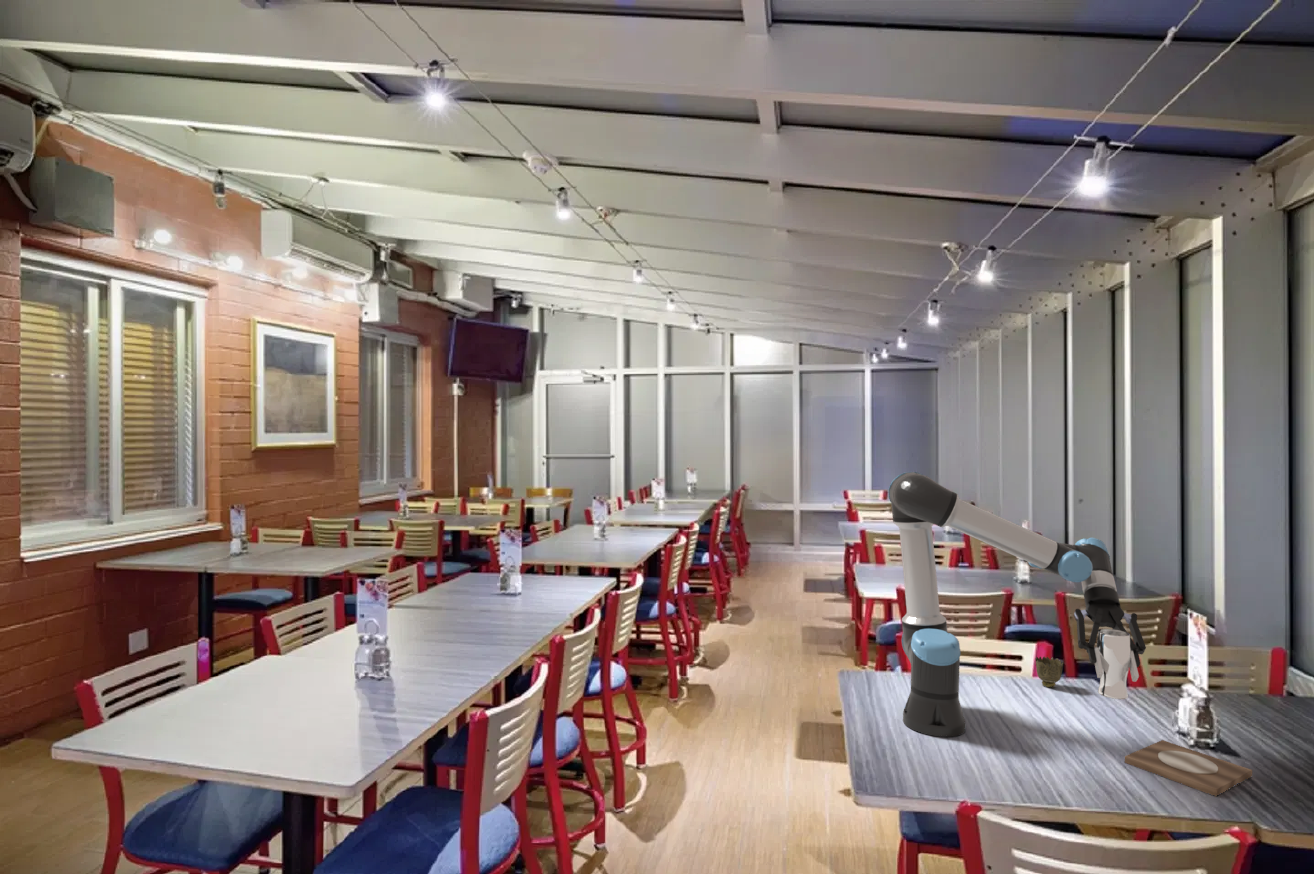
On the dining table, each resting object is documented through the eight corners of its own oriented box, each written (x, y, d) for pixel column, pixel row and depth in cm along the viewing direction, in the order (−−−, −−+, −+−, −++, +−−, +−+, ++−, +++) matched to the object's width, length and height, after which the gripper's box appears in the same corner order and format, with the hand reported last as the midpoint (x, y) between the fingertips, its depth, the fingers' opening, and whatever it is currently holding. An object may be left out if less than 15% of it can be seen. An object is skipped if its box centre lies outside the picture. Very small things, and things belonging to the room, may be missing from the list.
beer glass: (1125, 691, 176) (1126, 630, 176) (1134, 701, 170) (1135, 637, 169) (1092, 688, 178) (1093, 627, 178) (1099, 697, 172) (1101, 634, 172)
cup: (1066, 691, 215) (1067, 664, 215) (1039, 689, 216) (1039, 662, 216) (1057, 683, 222) (1058, 657, 222) (1031, 681, 223) (1032, 655, 223)
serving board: (1216, 796, 153) (1216, 787, 153) (1124, 762, 168) (1124, 754, 168) (1252, 776, 162) (1252, 768, 162) (1162, 746, 178) (1162, 738, 178)
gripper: (1140, 604, 185) (1162, 689, 170) (1055, 598, 191) (1068, 679, 176) (1147, 587, 180) (1170, 674, 165) (1059, 581, 186) (1074, 664, 171)
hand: (1117, 676), depth 171 cm, fingers closed on beer glass, 6 cm apart
